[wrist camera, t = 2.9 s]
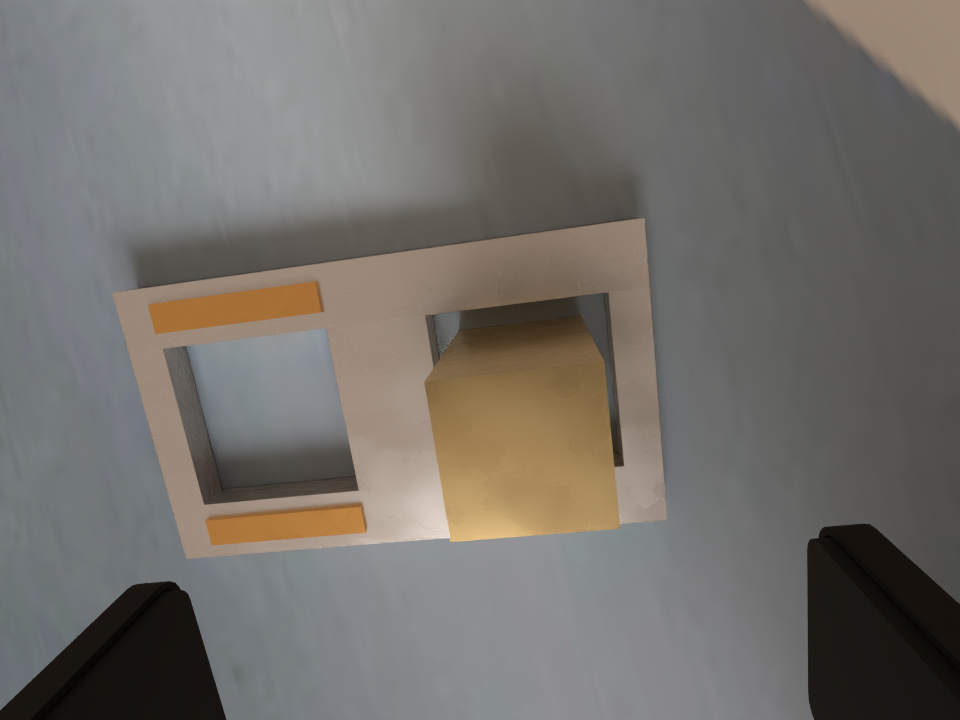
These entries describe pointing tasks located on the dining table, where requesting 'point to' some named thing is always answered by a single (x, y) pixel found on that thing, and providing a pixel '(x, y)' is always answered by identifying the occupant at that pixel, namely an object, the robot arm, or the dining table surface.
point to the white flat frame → (382, 379)
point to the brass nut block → (523, 431)
